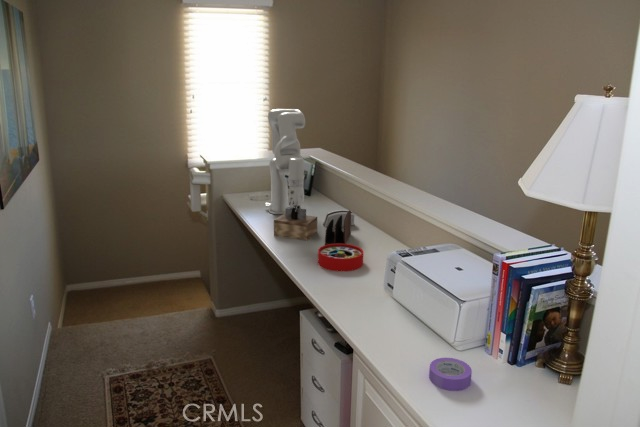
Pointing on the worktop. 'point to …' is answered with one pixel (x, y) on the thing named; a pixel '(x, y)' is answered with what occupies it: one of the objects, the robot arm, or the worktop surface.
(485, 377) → the worktop surface
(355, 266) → the toy clock
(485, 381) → the worktop surface
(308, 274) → the worktop surface
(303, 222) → the lid
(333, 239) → the letter holder
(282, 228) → the wooden box
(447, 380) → the masking tape
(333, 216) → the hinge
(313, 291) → the worktop surface
